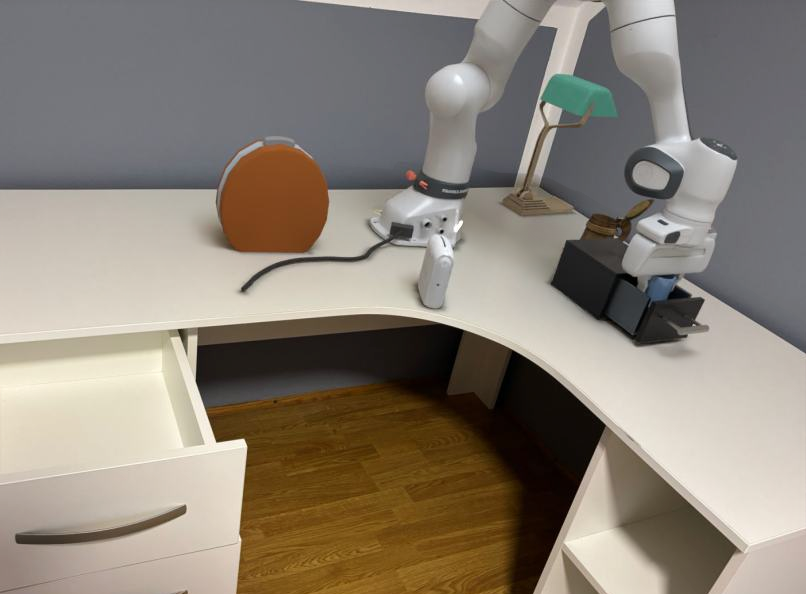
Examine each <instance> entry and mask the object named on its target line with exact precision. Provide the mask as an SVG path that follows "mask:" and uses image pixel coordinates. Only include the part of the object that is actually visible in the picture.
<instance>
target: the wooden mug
mask: <svg viewBox="0 0 806 594" xmlns="http://www.w3.org/2000/svg"><path fill="white" fill-rule="evenodd" d="M654 203H655V198H651V199H650V198H649V199H645V200H642V201H640V202H639V203H637V204H636V205H634V206H633V207H632V208H631V209H630V210H629V211H628V212H627V213H626V215H625V216H624V217H620V216H619V217H616V218H614V217H612V216H611V215H609V214H605V213H599V212H594V213H592V214H591V216H590V218H589V219H588V220H587V221H586V223H585V229H584V230H583V232H582V234H581V236H580V238H579V240H582V239H612V238H615V235H616V234H618V233H619V230H618V229H620V230H621V234H620V235H619V237H616V238H617V239H618V240H620V241H622V242H623V243H624V242H625V241H626V240H627V239H628V237H629V236H630V234H631V232H632V221H633V220H635V219H637V218H639V217H640V216H642V215H643V214H644V213H646V212H647V211H648V210H649V209H650V208H651V207H652V206H653V205H654Z"/></svg>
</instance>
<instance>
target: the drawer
mask: <svg viewBox="0 0 806 594" xmlns="http://www.w3.org/2000/svg"><path fill="white" fill-rule="evenodd" d="M637 285H638V278H637V277H634V276H625V277H618V278H617V281H616V283H615V285H614V288H613V290H612V293H611V295H610V298H609V300H608V303H607V305H606V307H605V310H604V312H603V313H604V314H605V315H606V316H608V317H609V319H611V320H612V321H613V322H615V324H617V325H618V326H620V327H621V328H622V329H624V330H625V331H626V332H628V333H629V334H630V335H632V336H635V338H634V342H636V343H637V344H647V343H654V342H662V341H663V342H664V341H672V340H678V339H686V338H688V336H689V335H694V334H702V333H708V332H709V331H710V326H709V325H708V324H702V323H700V322H699V321H698V320H697V318H698V315H699V313H700V311H701V309H702V308H703V306H704V303H705V301H706V299H705V298H703V297H701V296H695V297H692V296H693V294H692V293H690V292H689V291H687V290H686V289H684V288H682V287H681V286H679V285H678V284H676V285H675V287H674V289H673V291H672V292H670V293H669V296H668V298H667V300H659V301H652V302H651V304H650V306H649V303H650V301H651V299H652V298H651V297H649V296H648V295H646V294H645V293H643V292H642V291H641V290H639V289H638V288H637ZM648 306H649V308H648Z"/></svg>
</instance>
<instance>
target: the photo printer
mask: <svg viewBox="0 0 806 594" xmlns="http://www.w3.org/2000/svg"><path fill="white" fill-rule="evenodd" d="M454 263H455V255H454V250H453V248H452V247H451V244H450V242H449V241H448V239H447V238H446V237H445V236H443V235H438V234H435V235H433V236H432V237H430V239H429V241H428V243H427V247H426V248H425V252H424V257H423V260H422V264H421V268H420V272H419V277H418V280H417V288H418V292H419V295H420V299H421V302H422V304H423V306H425V307H427V308H430V309H439V308H442V306H443V304H444V301H445V297H446V294H447V291H448V288H449V283H450V279H451V276H452V272H453V268H454Z"/></svg>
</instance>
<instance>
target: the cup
mask: <svg viewBox="0 0 806 594" xmlns="http://www.w3.org/2000/svg"><path fill="white" fill-rule="evenodd" d="M675 281H676V276H675V275H674V274H669V275H654V276H652V277H651V279H650V280H648V286H650V289H649V290H648V293H647V294H646V295H648V296H649V297H651V298H652V299H651V301H650V303H649V306H650V304H651V302H652V301H659V300H667V298H668V296H669V293H670V291H671V289H672V287H673V285H674V283H675ZM649 306H648V308H649Z"/></svg>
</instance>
